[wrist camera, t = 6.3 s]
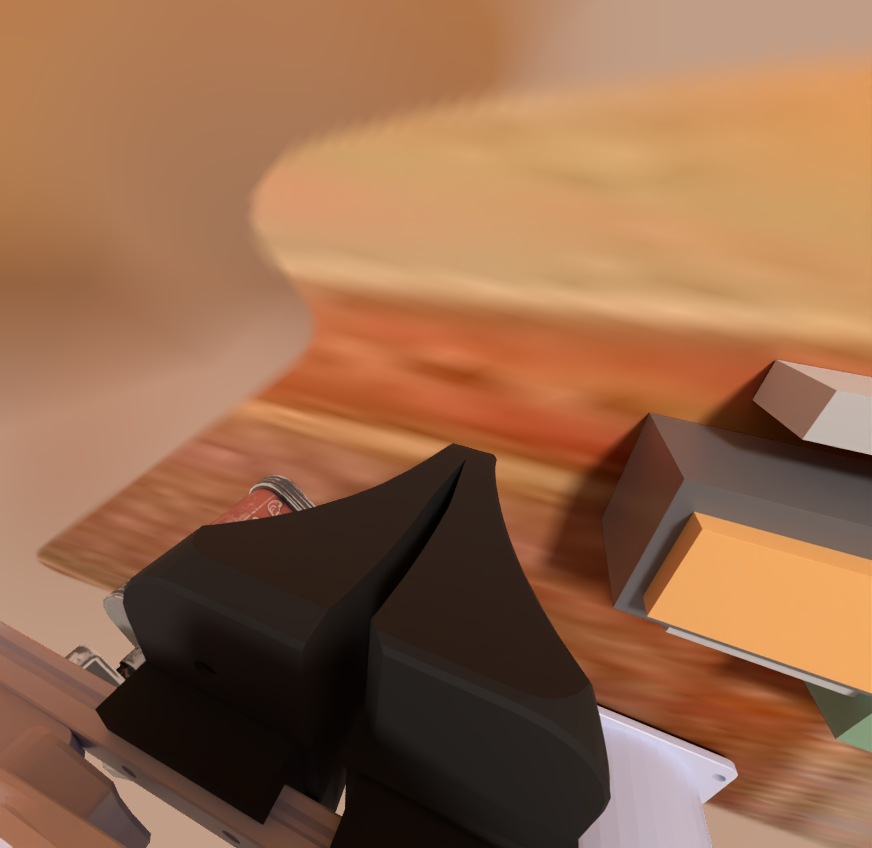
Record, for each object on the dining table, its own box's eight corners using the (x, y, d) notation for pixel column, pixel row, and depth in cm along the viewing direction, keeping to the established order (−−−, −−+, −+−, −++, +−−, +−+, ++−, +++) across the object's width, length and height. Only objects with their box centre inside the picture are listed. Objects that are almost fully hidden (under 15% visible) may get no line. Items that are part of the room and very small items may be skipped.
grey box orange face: (820, 581, 12) (947, 745, 8) (600, 517, 13) (615, 627, 9) (922, 471, 10) (1165, 619, 6) (648, 410, 11) (692, 494, 7)
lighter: (377, 585, 19) (226, 855, 11) (336, 595, 21) (175, 835, 12) (286, 465, 17) (18, 670, 9) (249, 486, 19) (-9, 676, 10)
